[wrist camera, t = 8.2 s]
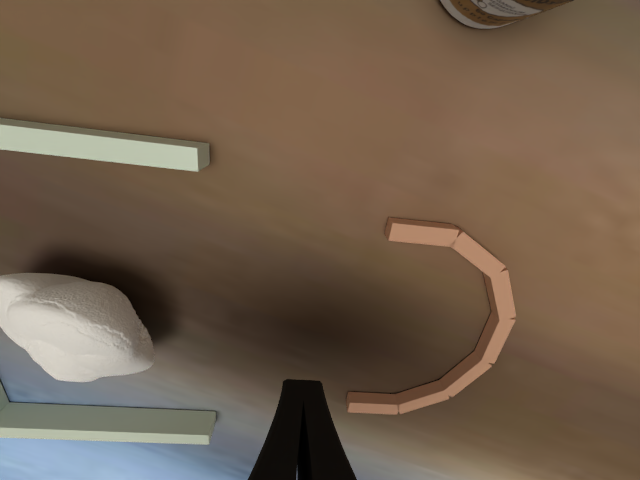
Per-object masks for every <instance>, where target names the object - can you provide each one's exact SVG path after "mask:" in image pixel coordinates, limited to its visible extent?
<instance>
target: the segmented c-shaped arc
mask: <svg viewBox="0 0 640 480" xmlns="http://www.w3.org/2000/svg"><path fill="white" fill-rule="evenodd" d="M385 236H386V237H387V239H388V241H397V242H408V243H418V244H428V245H438V246H448V247H452V248H453V249H455V250H456V251H457V252H458V253H460V254H461V255H462V256H463V257H465V258H466V259H467V260H469V261H470V262H471V263H472V264H474V265H475V266H476V267H478V268H479V269H480V270H481V271H483V275H484V279H485V284H486V288H487V293H488V297H489V302H490V306H491V311H492V312H491V314H490V316H489V319H488V321H487V323H486V325H485V328H484V330H483V332H482V335H481V337H480V339H479V341H478V344H477V346H476V348H475V351H474V352H472V353H471V354H470V355H469V356H468V357H466V358H465V359H464V360H463V361H462V362H460V363H459V364H458V365H457V366H455V367H454V368H453V369H452V370H451V371H449V372H448V373H447V374H446V375H444V376H443V377H442V378H441V379H440V380H437V381H434V382H431V383H428V384H425V385H422V386H419V387H416V388H412V389H409V390H406V391H403V392H400V393H397V394H382V393H363V392H348V395H347V399H346V405H347V412H352V413H374V414H395V415H397V413H398V410H399V412H400V414H402V413H405V412H409V411H412V410H415V409H418V408H422V407H425V406H428V405H431V404H434V403H438V402H441V401H444V400H447V399H449V397H448V395H449V396H451V397H453V396H455V395H456V394H457V393H458V392H460V391H461V390H462V389H464V388H465V387H466V386H467V385H469V384H470V383H471V382H472V381H474V380H475V379H476V378H478V377H479V376H480V375H481V374H483V373H484V372H485V371H487V370H488V369H489V368H490V367H492V365H491V363H495V361H496V359H497V357H498V355H499V353H500V351H501V349H502V347H503V345H504V343H505V341H506V339H507V337H508V335H509V332H510V330H511V328H512V326H513V324H514V322H515V319H514V318H513V317H516V313H515V307H514V302H513V296H512V290H511V285H510V279H509V274H508V269H506V268H505V267H506V266H505V265H503V264H502V263H501V262H500V261H499V260H497V259H496V258H495V257H494V256H492V255H491V254H490V253H489V252H488V251H486V250H485V249H484V248H483V247H481V246H480V245H479V244H478V243H477V242H475V241H474V240H473V239H472V238H470V237H469V236H468V235H467V234H466V233H464V232H463V231H462V230H461V229H459V228H458V227H457V226H454V225H453V224H447V223H438V222H428V221H419V220H409V219H400V218H390V217H388V221H387V226H386V230H385Z"/></svg>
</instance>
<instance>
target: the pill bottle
mask: <svg viewBox="0 0 640 480" xmlns="http://www.w3.org/2000/svg"><path fill="white" fill-rule="evenodd" d="M440 1H441V2H442V4H443V6H444V7H445V8H446V10H447V11H448V12H449V13H450V14H451V15H452V16H453V17H454V18H456V19H457V20H459V21H460V22H461V23H463V24H465V25H468V26H470V27H473V28H480V29H491V28H498V27H502V26H505V25H508V24H511V23H513V22H516V21H519V20H523V19H525V18H528V17H530V16H533V15H536V14H538V13H541V12H544V11H547V10H549V9H552V8H554V7H557V6H560V5H563V4H565V3H568V2H571V1H573V0H440Z"/></svg>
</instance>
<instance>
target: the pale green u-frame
mask: <svg viewBox="0 0 640 480" xmlns="http://www.w3.org/2000/svg"><path fill="white" fill-rule="evenodd" d="M0 149H3V150H12V151H20V152H29V153H38V154H47V155H56V156H65V157H74V158H82V159H91V160H100V161H109V162H118V163H127V164H135V165H144V166H153V167H162V168H171V169H180V170H189V171H197V172H198V171H200V170H201V169H203V168H205V167H206V166H208V165H209V164H210V154H209V143H203V142H195V141H187V140H179V139H170V138H162V137H154V136H146V135H137V134H129V133H121V132H113V131H104V130H96V129H88V128H80V127H71V126H63V125H55V124H47V123H39V122H30V121H22V120H14V119H6V118H0ZM215 422H216V411H194V410H171V409H149V408H126V407H104V406H81V405H59V404H36V403H13V402H9V401H8V398H7V396H6V394H5V391H4V389H3V387H2V384H1V382H0V437H3V438H31V439H60V440H89V441H118V442H147V443H176V444H205V445H209V443H210V440H211V436H212V433H213V429H214V426H215Z"/></svg>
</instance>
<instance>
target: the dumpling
mask: <svg viewBox="0 0 640 480" xmlns="http://www.w3.org/2000/svg"><path fill="white" fill-rule="evenodd" d="M135 312H136V311H135V310H134V309H133V308H132V305H131V302H130V301H129V300H128V298H127V297H126V295H124V294H123V293H122V292H121V291H119V289H117V288H115V287H114V286H111V285H108V284H104V283H101V282H91V281H88V280H85V279H82V278H78V277H73V276H68V275H59V274H48V273H16V274H8V275H2V276H0V327H1V328H2V330H3V331H4V332H5V333H6V334H7V336H9V338H11V339H12V340H13V341H14V342H15V343H17V344H18V345H19V346H21V347H22V348H24V349H25V350H27V351H26V352H28V353H29V354H30V356H31V357H32V359H33V360H34V361H35V362H36V363H38V364H39V365H41V367H43V369H44V370H45V371H46V372H47V373H49V374H50V375H51V376H52V377H53V378H55V379H57V380H62V381H75V382H90V381H93V380H96V379H97V378H100V377H102V376H107V377H109V376H117V375H128V374H133V373H138V372H142V371H145V370H147V369H149V368H150V367H151V366H152V365H153V364H154V347H153V346H152V344H153V343H152V341H151V336H150V335H149V333H148V331H147V329H146V327H144V325H143V324H142V323H141V319H138V316H137V315H136V313H135Z"/></svg>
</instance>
